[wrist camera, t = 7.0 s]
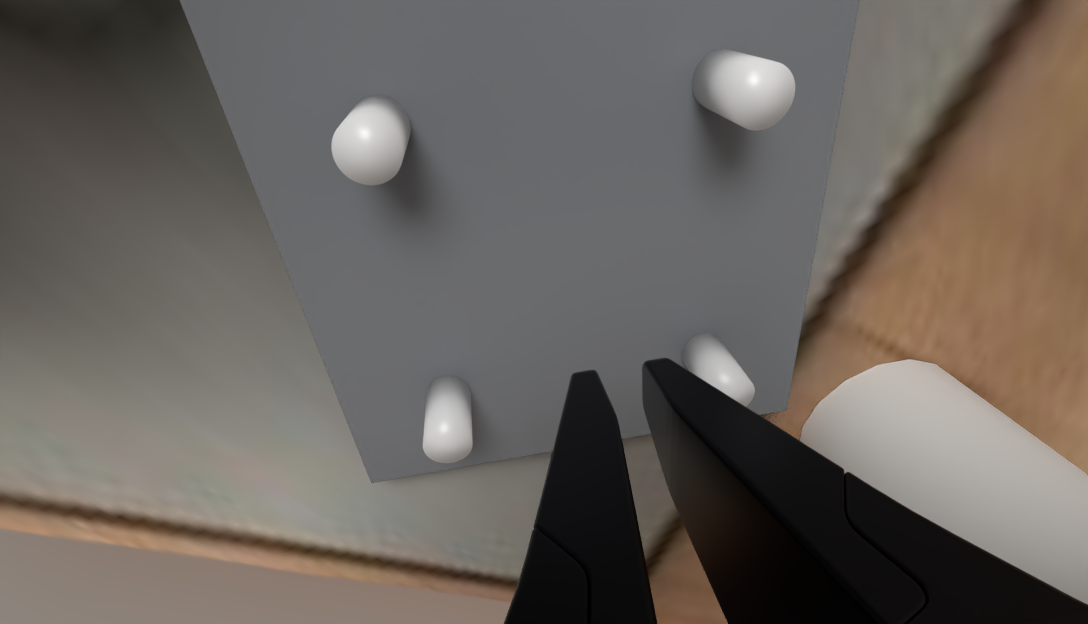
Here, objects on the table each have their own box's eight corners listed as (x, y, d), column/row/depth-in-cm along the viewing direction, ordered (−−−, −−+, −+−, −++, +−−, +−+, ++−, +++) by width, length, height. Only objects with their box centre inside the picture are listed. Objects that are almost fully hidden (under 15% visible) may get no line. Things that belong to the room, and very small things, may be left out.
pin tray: (846, -99, 11) (959, -121, 9) (771, 389, 18) (822, 457, 16) (194, -22, 10) (108, -22, 8) (375, 458, 17) (361, 540, 15)
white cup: (873, 503, 22) (1129, 826, 14) (749, 465, 20) (966, 824, 11) (1004, 382, 19) (1424, 692, 11) (878, 322, 17) (1287, 654, 9)
